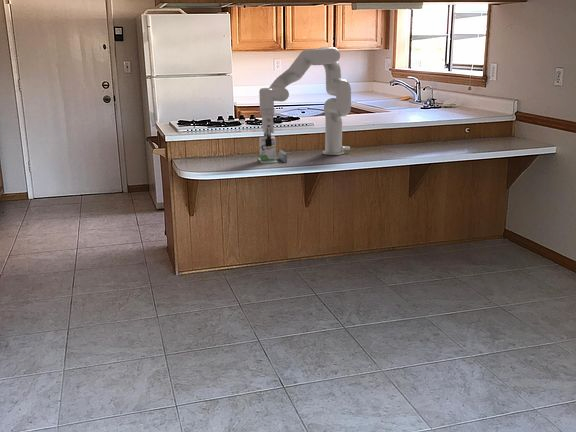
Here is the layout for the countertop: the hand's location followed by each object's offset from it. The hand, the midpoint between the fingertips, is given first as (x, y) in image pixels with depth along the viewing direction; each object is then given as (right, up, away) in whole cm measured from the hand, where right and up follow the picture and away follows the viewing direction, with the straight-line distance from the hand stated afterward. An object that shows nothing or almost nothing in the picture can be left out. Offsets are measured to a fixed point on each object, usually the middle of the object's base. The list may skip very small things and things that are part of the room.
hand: (267, 145), depth 327 cm
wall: (+8, -8, +4) cm, 12 cm away
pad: (0, -8, +2) cm, 9 cm away
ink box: (0, -7, +2) cm, 8 cm away
